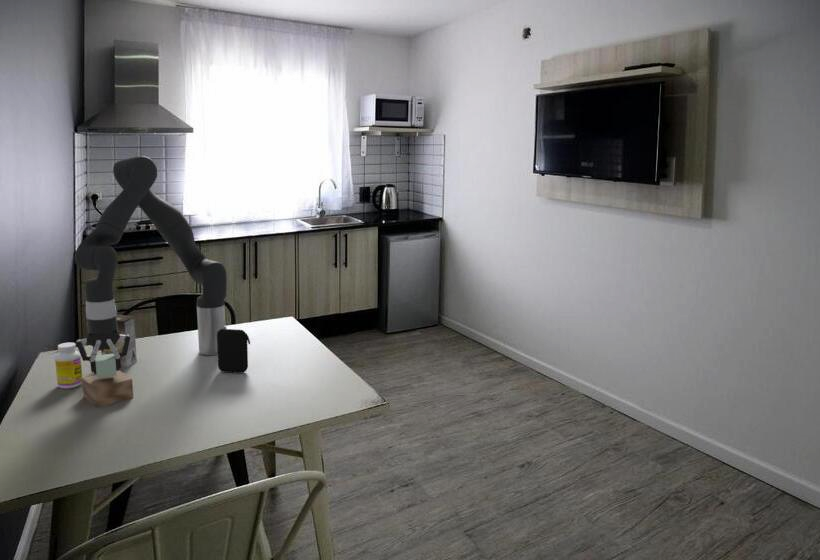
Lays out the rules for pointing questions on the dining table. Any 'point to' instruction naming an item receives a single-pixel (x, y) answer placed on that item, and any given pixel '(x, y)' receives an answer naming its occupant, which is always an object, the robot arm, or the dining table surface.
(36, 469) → the dining table surface
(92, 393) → the walnut block
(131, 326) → the coffee box
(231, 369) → the carrying case or bag
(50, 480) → the dining table surface
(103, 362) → the sage cube
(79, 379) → the supplement bottle
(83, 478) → the dining table surface
